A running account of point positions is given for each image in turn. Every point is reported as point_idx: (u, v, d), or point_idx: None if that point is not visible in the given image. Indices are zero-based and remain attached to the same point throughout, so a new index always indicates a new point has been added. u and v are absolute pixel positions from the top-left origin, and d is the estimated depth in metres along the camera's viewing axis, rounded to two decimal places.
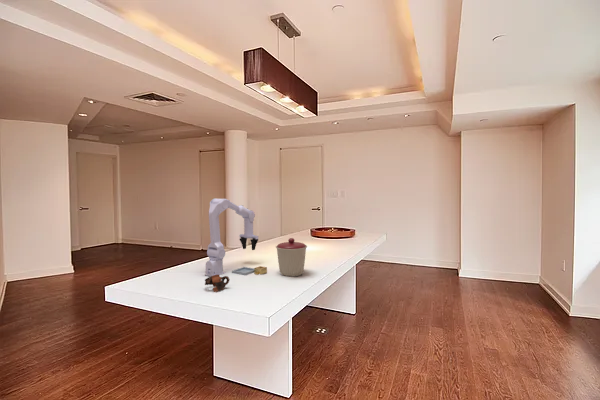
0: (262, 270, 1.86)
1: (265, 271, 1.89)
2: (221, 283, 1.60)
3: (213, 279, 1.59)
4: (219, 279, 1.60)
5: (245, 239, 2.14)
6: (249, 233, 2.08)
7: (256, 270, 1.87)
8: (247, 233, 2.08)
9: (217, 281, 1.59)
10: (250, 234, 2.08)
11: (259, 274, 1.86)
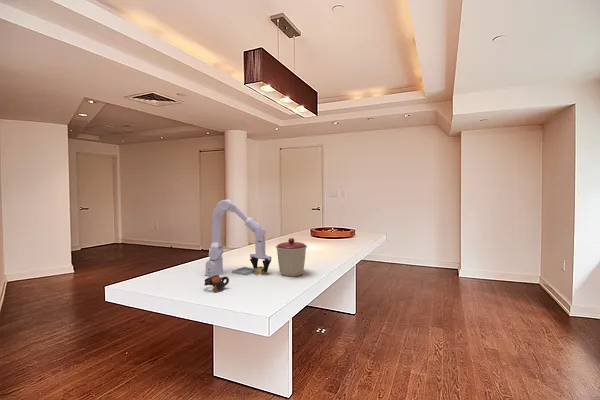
0: (262, 270, 1.86)
1: None
2: (221, 283, 1.59)
3: (213, 279, 1.58)
4: (219, 279, 1.59)
5: (256, 259, 1.91)
6: (261, 253, 1.86)
7: (256, 270, 1.87)
8: (259, 253, 1.86)
9: (217, 281, 1.58)
10: (262, 254, 1.86)
11: (259, 274, 1.86)
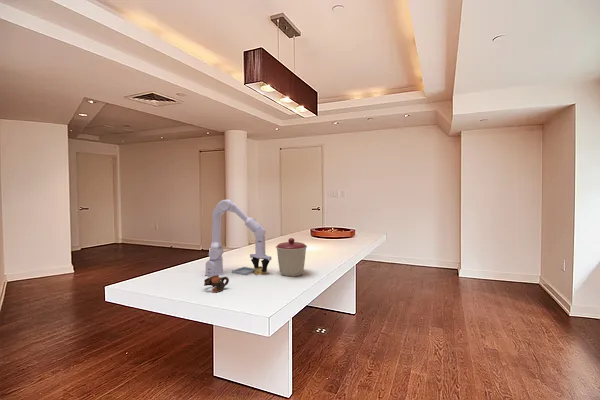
0: (262, 270, 1.86)
1: None
2: (220, 283, 1.59)
3: (212, 280, 1.58)
4: (218, 280, 1.59)
5: (257, 260, 1.91)
6: (261, 253, 1.86)
7: (256, 270, 1.87)
8: (259, 253, 1.86)
9: (216, 282, 1.57)
10: (262, 254, 1.86)
11: (259, 274, 1.86)
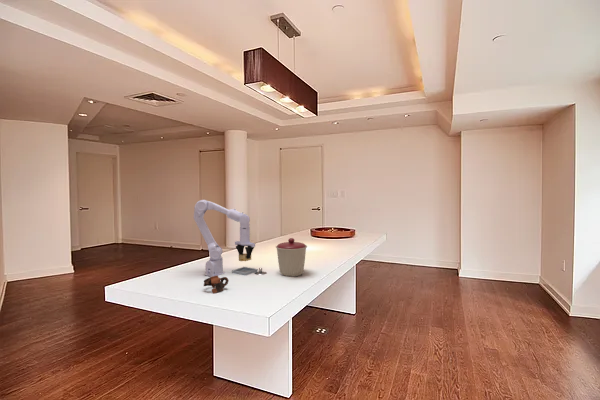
0: (246, 257, 1.88)
1: None
2: (220, 284, 1.58)
3: (212, 280, 1.57)
4: (218, 280, 1.58)
5: (242, 247, 1.93)
6: (245, 240, 1.88)
7: (240, 257, 1.89)
8: (243, 240, 1.88)
9: (216, 282, 1.57)
10: (246, 241, 1.88)
11: (259, 274, 1.86)
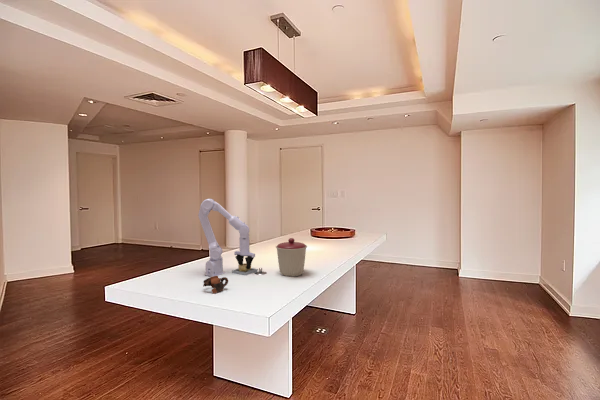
0: (246, 267, 1.89)
1: None
2: (220, 284, 1.58)
3: (212, 280, 1.57)
4: (218, 280, 1.58)
5: (242, 257, 1.93)
6: (245, 251, 1.88)
7: (240, 267, 1.90)
8: (243, 251, 1.88)
9: (216, 282, 1.56)
10: (246, 252, 1.89)
11: (259, 274, 1.86)
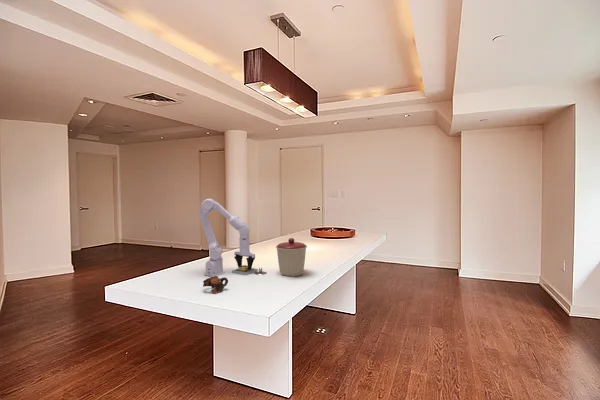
0: (246, 269, 1.89)
1: (249, 270, 1.91)
2: (220, 284, 1.57)
3: (212, 280, 1.56)
4: (218, 280, 1.57)
5: (241, 257, 1.94)
6: (245, 251, 1.88)
7: (240, 269, 1.90)
8: (243, 251, 1.88)
9: (216, 282, 1.56)
10: (246, 252, 1.89)
11: (259, 274, 1.86)
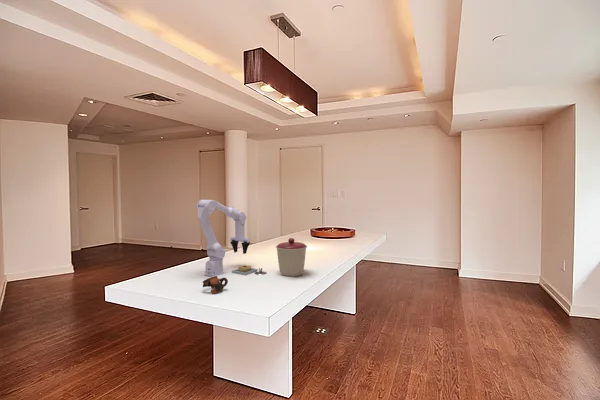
0: (246, 269, 1.89)
1: (249, 270, 1.91)
2: (219, 285, 1.57)
3: (211, 281, 1.56)
4: (217, 281, 1.57)
5: (236, 242, 2.06)
6: (240, 236, 2.00)
7: (240, 269, 1.90)
8: (238, 236, 2.00)
9: (215, 283, 1.56)
10: (241, 237, 2.00)
11: (259, 274, 1.86)
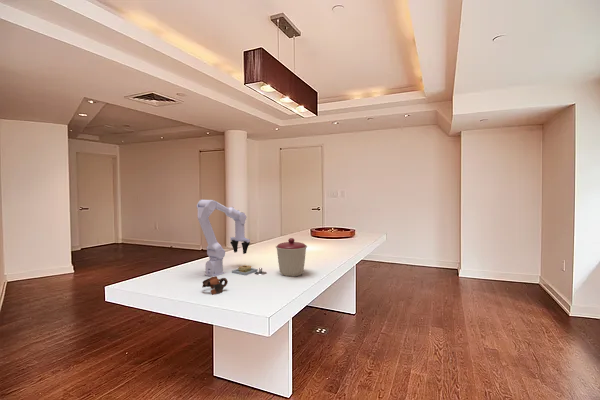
0: (246, 269, 1.89)
1: (249, 270, 1.91)
2: (219, 285, 1.56)
3: (211, 281, 1.55)
4: (217, 281, 1.56)
5: (236, 242, 2.06)
6: (240, 236, 2.00)
7: (240, 269, 1.90)
8: (238, 236, 2.00)
9: (215, 283, 1.55)
10: (241, 237, 2.00)
11: (259, 274, 1.86)
